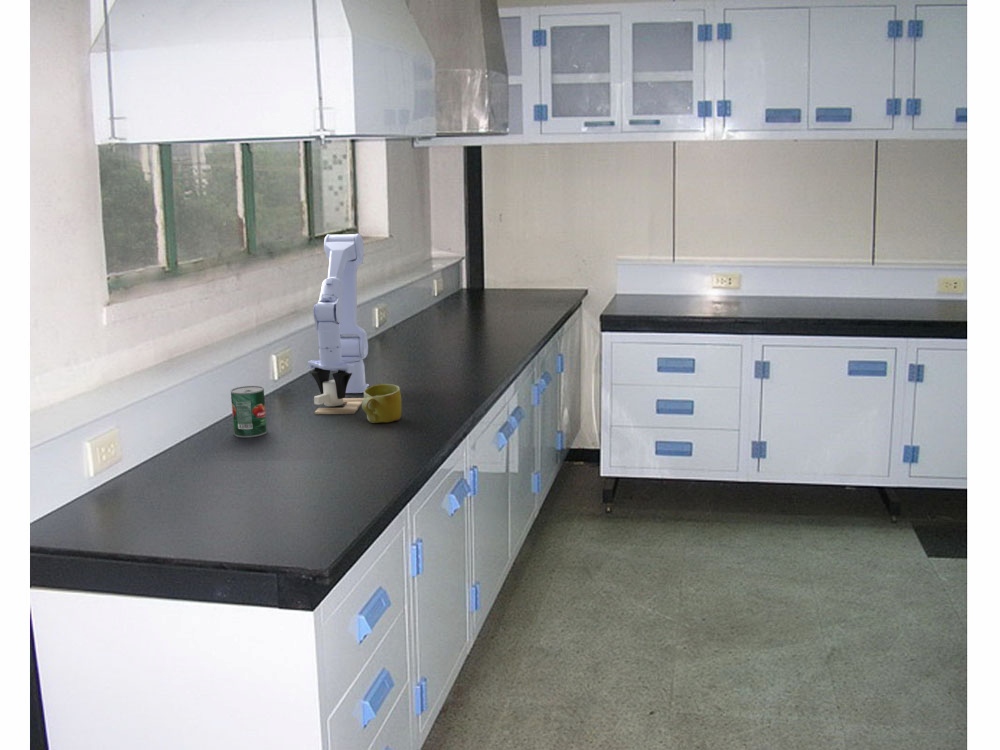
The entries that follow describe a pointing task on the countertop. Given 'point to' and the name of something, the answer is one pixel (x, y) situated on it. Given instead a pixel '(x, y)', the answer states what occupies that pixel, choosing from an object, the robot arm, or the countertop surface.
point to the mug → (382, 403)
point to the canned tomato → (248, 411)
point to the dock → (350, 407)
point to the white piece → (328, 395)
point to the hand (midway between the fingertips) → (333, 397)
